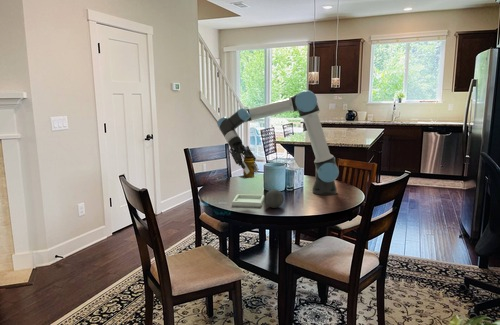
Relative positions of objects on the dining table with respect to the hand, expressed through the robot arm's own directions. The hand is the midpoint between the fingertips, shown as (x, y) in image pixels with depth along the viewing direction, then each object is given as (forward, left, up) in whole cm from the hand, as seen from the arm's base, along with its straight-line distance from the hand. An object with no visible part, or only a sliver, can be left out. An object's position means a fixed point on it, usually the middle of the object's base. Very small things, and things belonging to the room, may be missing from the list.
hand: (252, 171), depth 194 cm
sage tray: (+3, -2, -18) cm, 19 cm away
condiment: (+3, -2, -4) cm, 5 cm away
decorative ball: (-13, +5, -19) cm, 23 cm away
